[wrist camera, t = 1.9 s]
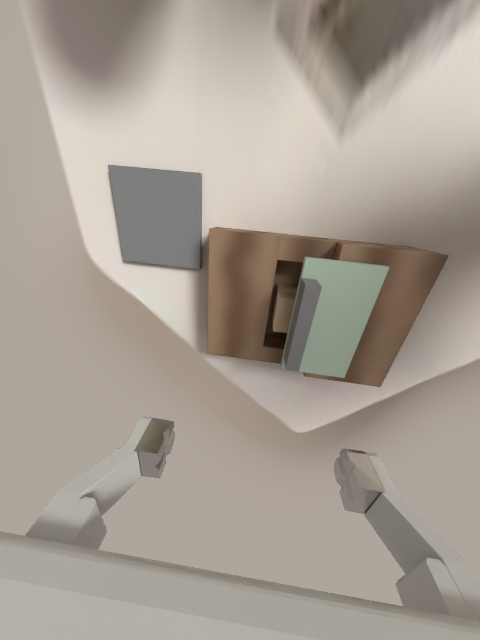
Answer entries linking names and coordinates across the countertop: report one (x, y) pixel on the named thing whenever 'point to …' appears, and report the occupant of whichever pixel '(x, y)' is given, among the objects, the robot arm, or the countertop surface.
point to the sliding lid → (330, 314)
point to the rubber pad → (158, 215)
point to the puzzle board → (285, 268)
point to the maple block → (283, 307)
